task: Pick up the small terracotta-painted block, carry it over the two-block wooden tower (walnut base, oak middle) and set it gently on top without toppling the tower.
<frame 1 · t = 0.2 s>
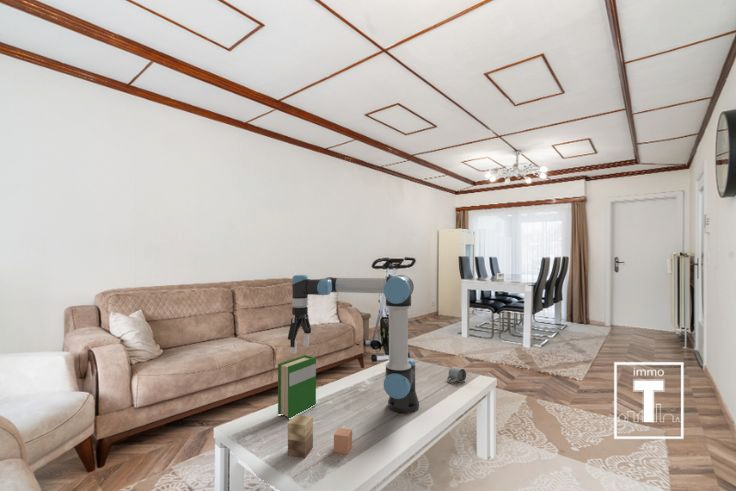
hand: (299, 349, 177), 28 cm above the table, fingers open, 13 cm apart
ceramic mug: (455, 381, 212), on the table
walnut base block: (300, 452, 136), on the table, touching oak middle block
terracotta block: (343, 449, 138), on the table
hardback book: (297, 411, 172), on the table
oak middle block: (300, 436, 137), point 6 cm above the table, touching walnut base block
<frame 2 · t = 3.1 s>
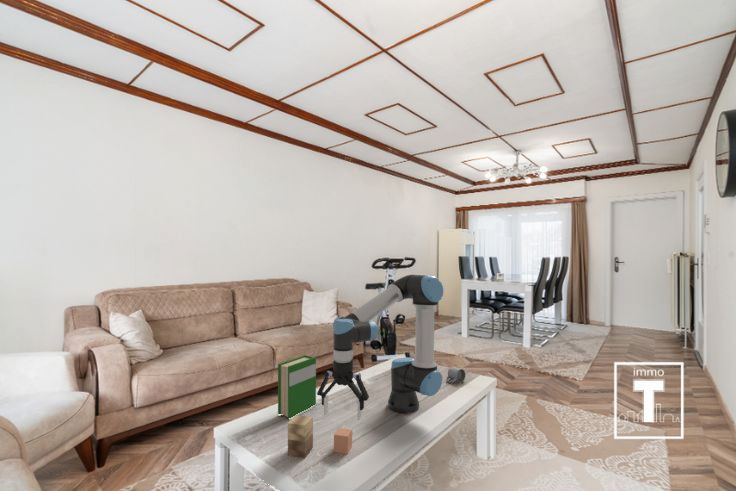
hand: (342, 415, 138), 13 cm above the table, fingers open, 13 cm apart
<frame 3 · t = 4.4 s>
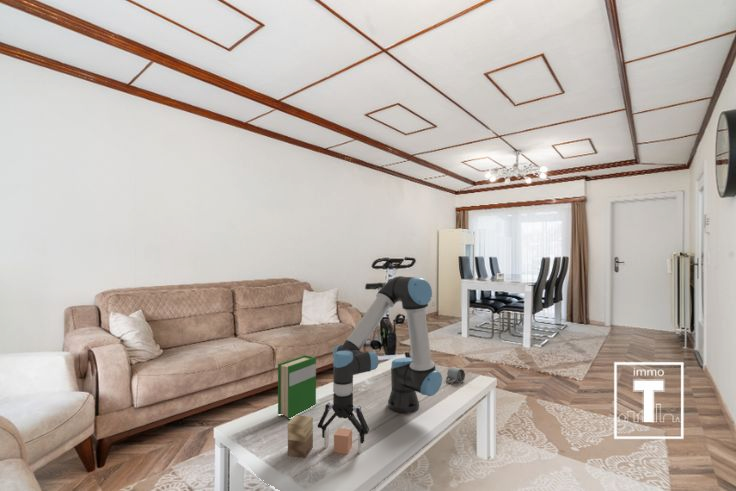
hand: (343, 448, 138), 0 cm above the table, fingers open, 13 cm apart
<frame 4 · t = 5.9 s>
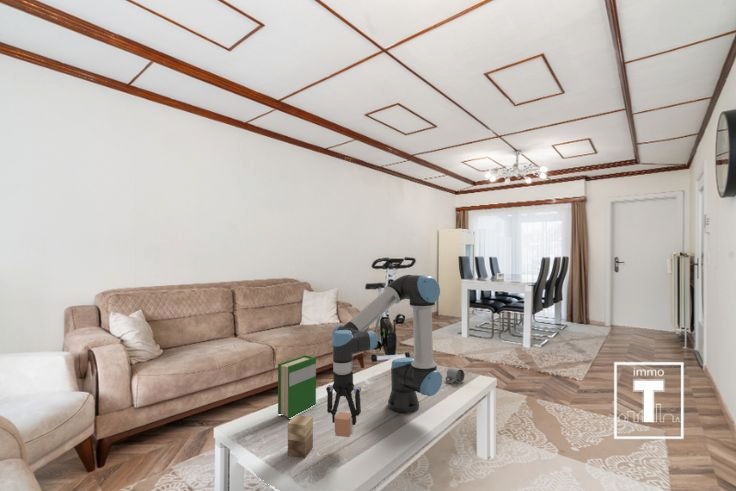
hand: (344, 431, 139), 6 cm above the table, fingers closed on terracotta block, 5 cm apart
terracotta block: (344, 432, 139), point 6 cm above the table, touching gripper
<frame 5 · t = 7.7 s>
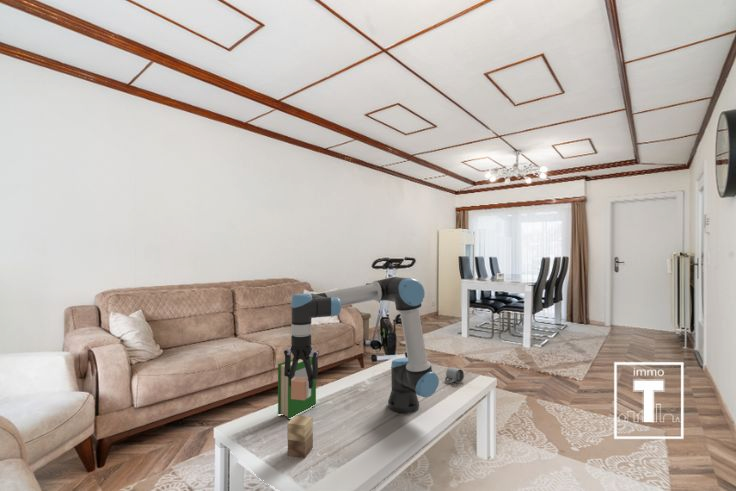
hand: (301, 395, 137), 21 cm above the table, fingers closed on terracotta block, 5 cm apart
terracotta block: (300, 396, 137), point 21 cm above the table, touching gripper
when the fingers open (12 cm above the table, at t = 9.8 s): terracotta block moves 1 cm, resting on oak middle block.
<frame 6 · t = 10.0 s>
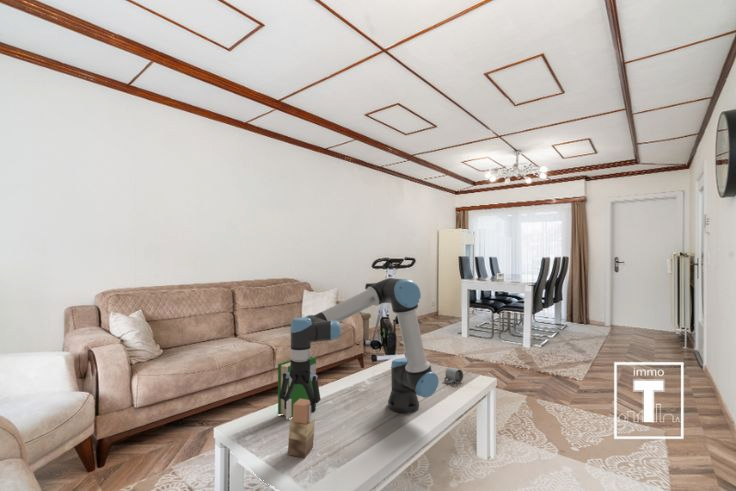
hand: (299, 419, 137), 12 cm above the table, fingers open, 8 cm apart
terracotta block: (302, 419, 136), point 12 cm above the table, touching gripper, oak middle block
oak middle block: (301, 435, 136), point 6 cm above the table, touching terracotta block, walnut base block
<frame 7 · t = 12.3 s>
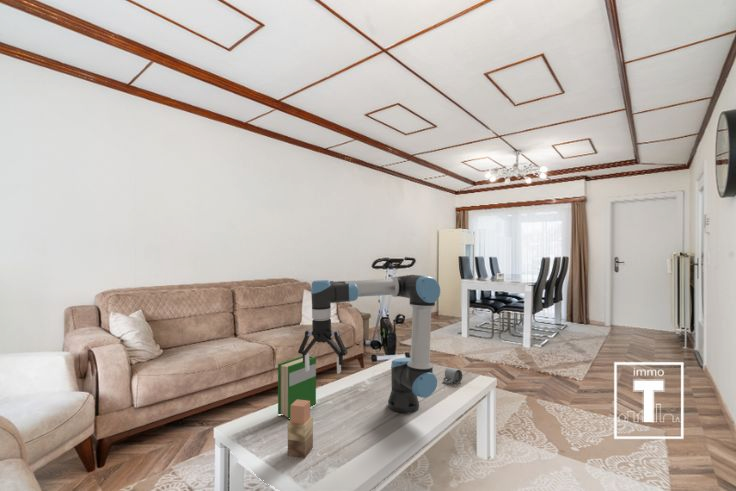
hand: (323, 371, 145), 28 cm above the table, fingers open, 13 cm apart
terracotta block: (300, 420, 136), point 12 cm above the table, touching oak middle block
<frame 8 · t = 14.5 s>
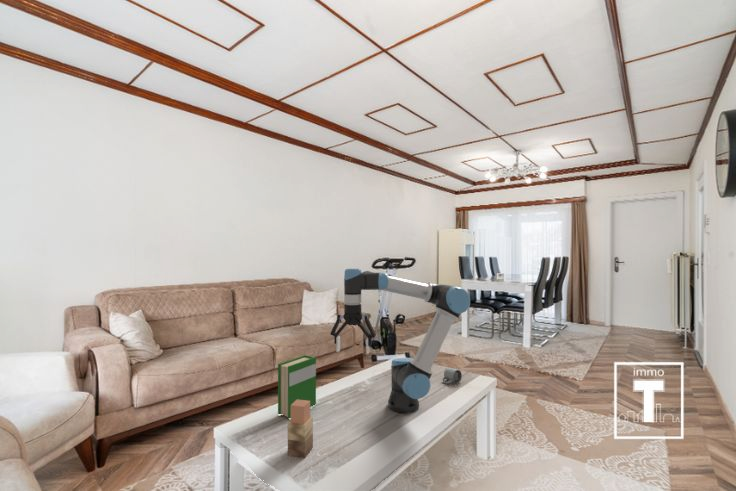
hand: (352, 352, 158), 32 cm above the table, fingers open, 13 cm apart
at the end: terracotta block 0.1 cm off-centre on the oak middle block, point 6.0 cm above the oak middle block's base; terracotta block tilted 0°; oak middle block moved 0.1 cm from its start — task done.
